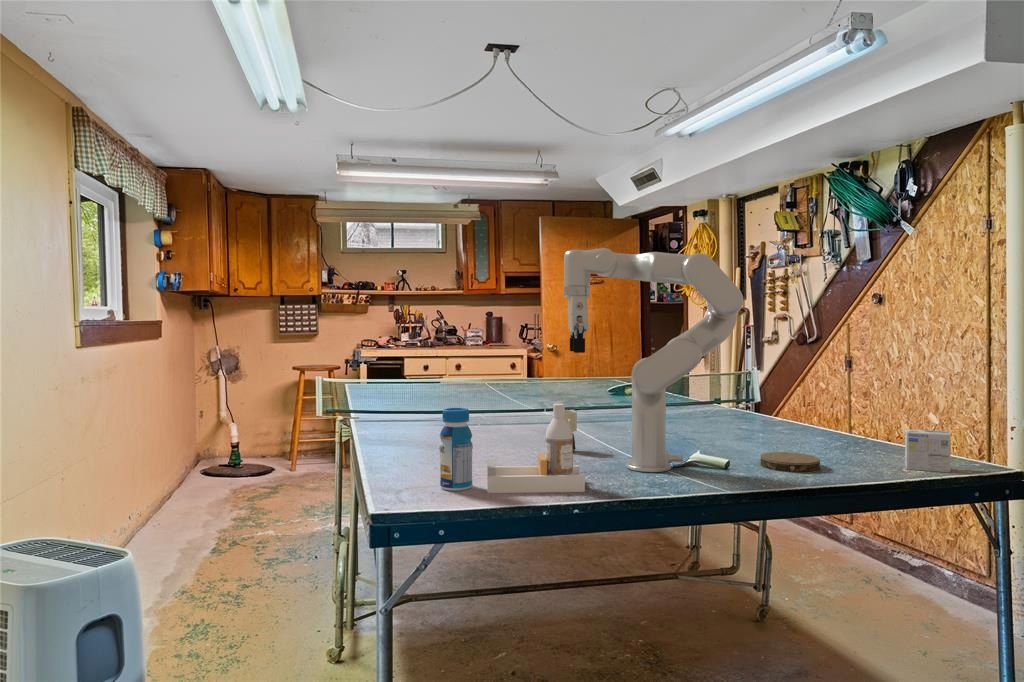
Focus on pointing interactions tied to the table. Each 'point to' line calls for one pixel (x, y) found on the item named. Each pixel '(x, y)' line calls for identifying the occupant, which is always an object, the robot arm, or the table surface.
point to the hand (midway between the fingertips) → (577, 351)
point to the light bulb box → (927, 450)
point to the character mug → (571, 422)
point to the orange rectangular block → (542, 464)
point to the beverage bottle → (455, 450)
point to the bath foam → (559, 444)
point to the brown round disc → (790, 462)
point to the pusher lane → (531, 480)
